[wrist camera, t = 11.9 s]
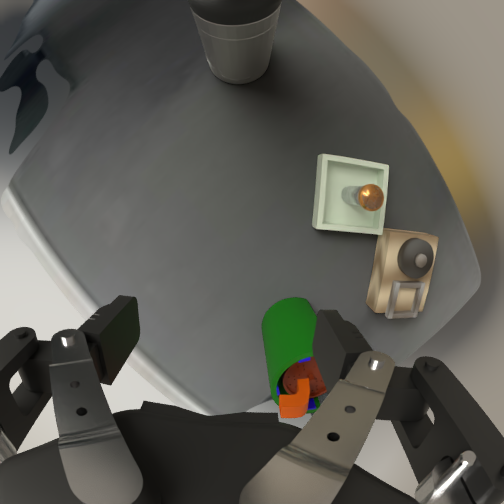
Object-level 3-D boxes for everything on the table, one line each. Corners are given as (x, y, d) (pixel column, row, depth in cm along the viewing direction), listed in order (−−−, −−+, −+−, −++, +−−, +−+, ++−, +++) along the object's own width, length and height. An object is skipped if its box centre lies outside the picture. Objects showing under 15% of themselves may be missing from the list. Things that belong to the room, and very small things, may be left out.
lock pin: (340, 182, 39) (361, 182, 31) (360, 185, 39) (385, 186, 31) (338, 204, 40) (358, 209, 32) (358, 207, 40) (382, 212, 32)
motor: (317, 344, 46) (352, 427, 27) (267, 355, 46) (278, 444, 27) (311, 292, 44) (353, 366, 24) (256, 304, 44) (263, 387, 24)
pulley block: (378, 227, 41) (399, 234, 35) (425, 232, 42) (448, 240, 35) (365, 305, 45) (381, 323, 38) (410, 305, 45) (429, 320, 38)
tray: (317, 155, 39) (322, 153, 36) (380, 166, 39) (389, 165, 36) (311, 226, 41) (316, 228, 38) (374, 231, 42) (382, 235, 39)
